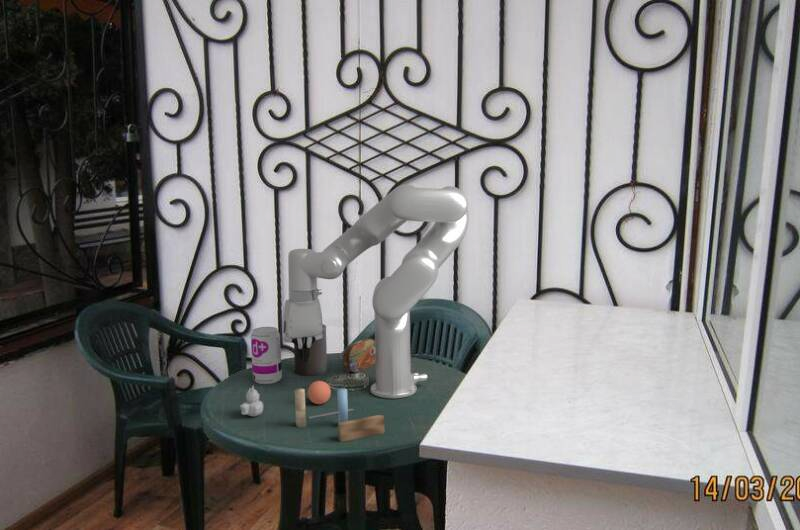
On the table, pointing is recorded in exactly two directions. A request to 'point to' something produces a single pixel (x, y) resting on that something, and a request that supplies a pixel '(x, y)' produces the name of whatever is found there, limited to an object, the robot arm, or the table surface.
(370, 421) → the back rail
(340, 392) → the pin
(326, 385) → the ball
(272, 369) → the supplement can
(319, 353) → the pillar candle
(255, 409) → the white figurine
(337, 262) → the robot arm
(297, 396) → the birch pin
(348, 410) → the lane line
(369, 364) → the tin
